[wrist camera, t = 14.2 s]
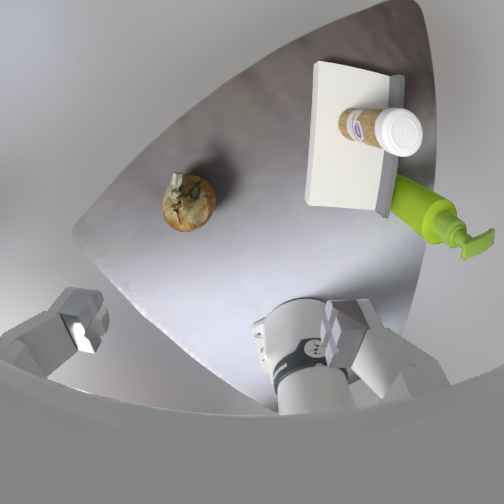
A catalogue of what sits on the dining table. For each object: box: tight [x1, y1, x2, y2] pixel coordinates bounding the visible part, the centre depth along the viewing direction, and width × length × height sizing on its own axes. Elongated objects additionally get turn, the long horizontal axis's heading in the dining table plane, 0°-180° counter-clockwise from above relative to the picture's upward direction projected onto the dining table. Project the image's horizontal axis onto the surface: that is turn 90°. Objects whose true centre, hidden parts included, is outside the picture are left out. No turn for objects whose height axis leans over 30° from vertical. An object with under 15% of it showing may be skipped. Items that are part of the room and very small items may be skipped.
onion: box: [162, 172, 216, 232], centre depth 35 cm, size 8×8×8 cm
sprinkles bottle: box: [338, 108, 423, 157], centre depth 25 cm, size 5×5×14 cm
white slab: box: [305, 61, 405, 218], centre depth 32 cm, size 20×11×6 cm, turn 178°
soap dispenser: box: [390, 173, 495, 260], centre depth 29 cm, size 6×7×20 cm
